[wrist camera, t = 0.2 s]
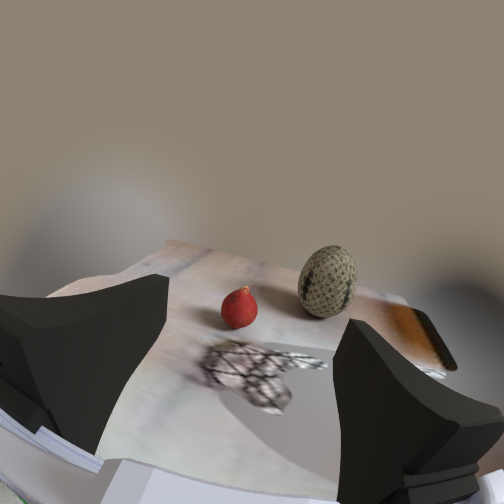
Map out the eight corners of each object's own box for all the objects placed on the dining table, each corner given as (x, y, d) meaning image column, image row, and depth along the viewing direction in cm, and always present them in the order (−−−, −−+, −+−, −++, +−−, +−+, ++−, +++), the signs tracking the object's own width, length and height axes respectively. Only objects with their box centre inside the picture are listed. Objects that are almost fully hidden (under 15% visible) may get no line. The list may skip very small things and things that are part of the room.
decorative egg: (353, 324, 57) (378, 259, 52) (313, 333, 51) (339, 257, 47) (319, 298, 66) (339, 238, 62) (279, 302, 60) (298, 234, 56)
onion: (226, 340, 44) (236, 296, 41) (212, 320, 48) (220, 278, 46) (257, 336, 47) (269, 294, 44) (242, 317, 51) (252, 277, 49)
